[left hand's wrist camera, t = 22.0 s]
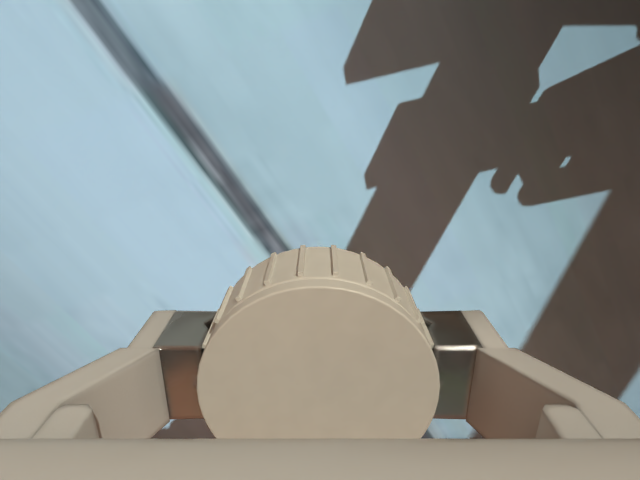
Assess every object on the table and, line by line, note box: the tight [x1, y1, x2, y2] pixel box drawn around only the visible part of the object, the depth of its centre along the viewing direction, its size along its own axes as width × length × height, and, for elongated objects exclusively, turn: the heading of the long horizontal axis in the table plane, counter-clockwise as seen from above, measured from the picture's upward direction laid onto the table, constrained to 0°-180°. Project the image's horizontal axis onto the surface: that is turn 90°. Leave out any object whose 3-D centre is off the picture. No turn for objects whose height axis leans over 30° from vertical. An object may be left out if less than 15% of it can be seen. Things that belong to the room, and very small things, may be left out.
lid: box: [197, 245, 440, 439], centre depth 9 cm, size 5×5×2 cm
